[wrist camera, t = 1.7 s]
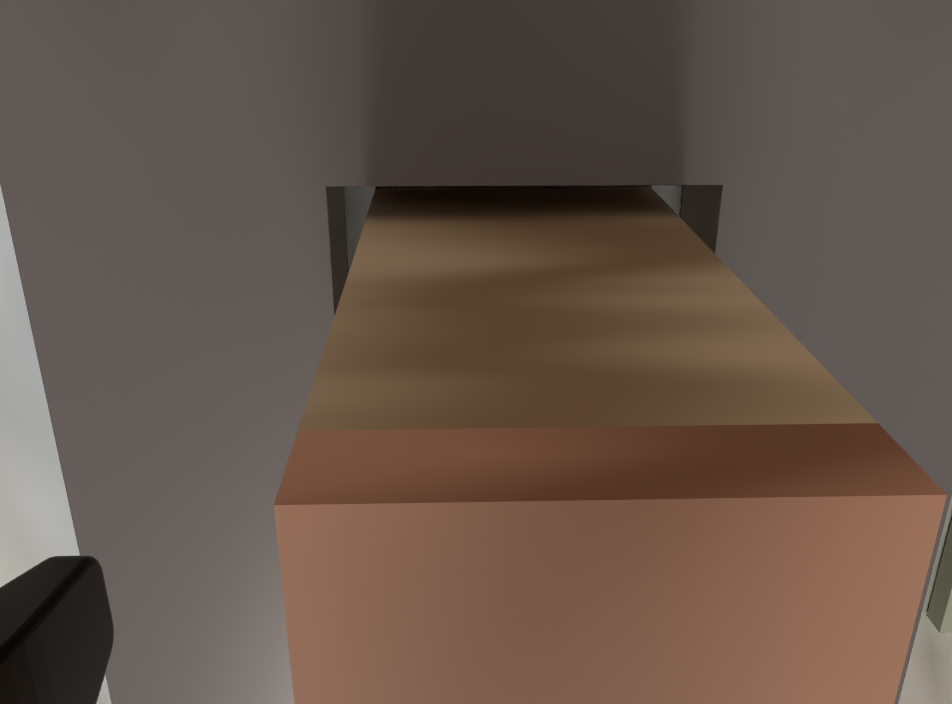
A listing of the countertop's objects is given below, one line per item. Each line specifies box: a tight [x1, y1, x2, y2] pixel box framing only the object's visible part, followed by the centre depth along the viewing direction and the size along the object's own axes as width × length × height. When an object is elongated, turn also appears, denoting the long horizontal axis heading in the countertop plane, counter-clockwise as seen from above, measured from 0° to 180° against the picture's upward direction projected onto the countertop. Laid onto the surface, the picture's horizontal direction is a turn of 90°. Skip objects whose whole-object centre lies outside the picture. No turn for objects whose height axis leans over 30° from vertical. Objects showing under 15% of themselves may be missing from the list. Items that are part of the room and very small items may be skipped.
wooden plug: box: [274, 188, 947, 704], centre depth 11 cm, size 4×4×9 cm
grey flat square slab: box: [0, 0, 952, 704], centre depth 14 cm, size 14×14×2 cm
